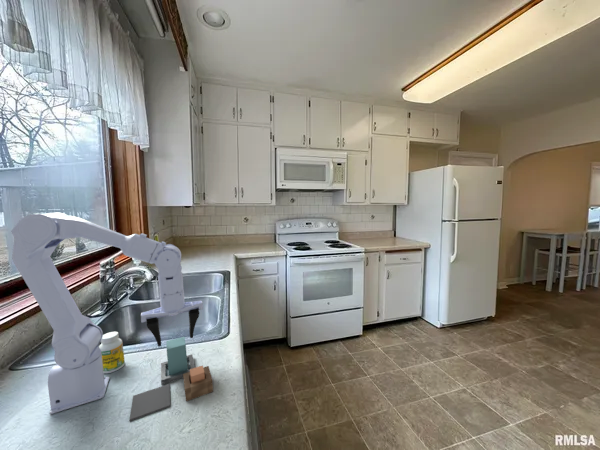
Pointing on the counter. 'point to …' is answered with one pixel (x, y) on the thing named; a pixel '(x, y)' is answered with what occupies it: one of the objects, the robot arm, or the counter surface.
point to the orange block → (197, 374)
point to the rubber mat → (150, 402)
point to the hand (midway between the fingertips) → (175, 340)
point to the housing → (198, 385)
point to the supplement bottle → (112, 352)
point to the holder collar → (176, 376)
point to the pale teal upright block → (176, 355)
